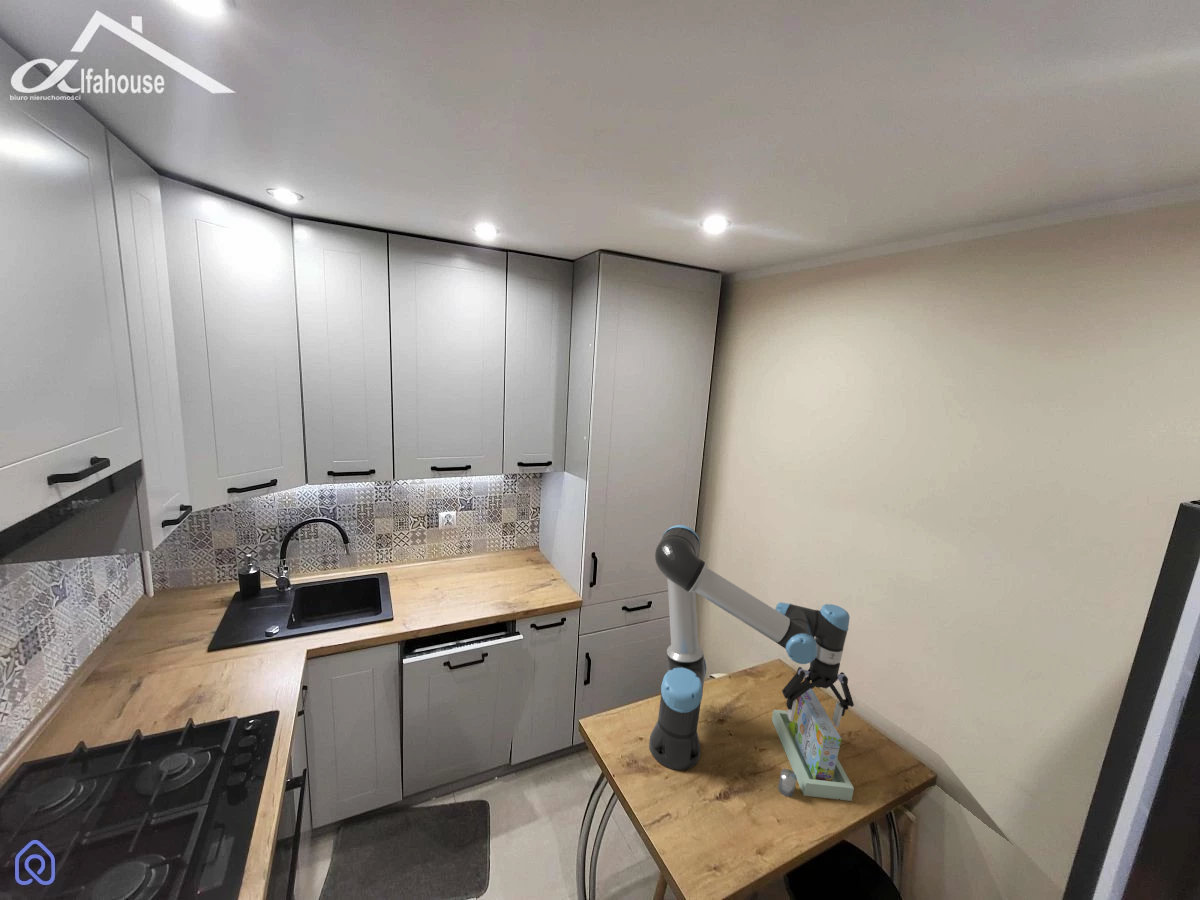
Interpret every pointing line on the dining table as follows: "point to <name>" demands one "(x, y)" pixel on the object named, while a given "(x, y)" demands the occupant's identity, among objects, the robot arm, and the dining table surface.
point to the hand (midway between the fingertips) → (812, 721)
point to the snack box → (815, 736)
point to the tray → (809, 786)
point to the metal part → (787, 782)
